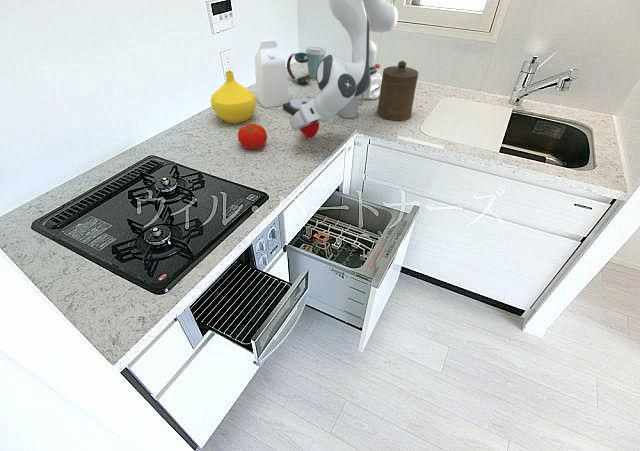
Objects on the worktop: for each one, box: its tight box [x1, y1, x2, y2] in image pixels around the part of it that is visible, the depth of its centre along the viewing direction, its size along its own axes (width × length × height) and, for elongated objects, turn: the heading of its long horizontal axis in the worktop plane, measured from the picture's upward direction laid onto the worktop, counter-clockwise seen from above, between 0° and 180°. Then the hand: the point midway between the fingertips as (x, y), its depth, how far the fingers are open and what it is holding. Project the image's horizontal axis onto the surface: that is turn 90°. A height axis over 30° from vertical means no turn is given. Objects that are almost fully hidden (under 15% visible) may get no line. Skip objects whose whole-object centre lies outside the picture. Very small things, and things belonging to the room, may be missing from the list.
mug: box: [338, 92, 365, 119], centre depth 148 cm, size 12×8×11 cm
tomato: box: [237, 122, 268, 150], centre depth 125 cm, size 11×11×8 cm
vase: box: [210, 70, 257, 124], centre depth 139 cm, size 18×18×19 cm
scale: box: [282, 96, 315, 116], centre depth 152 cm, size 15×13×3 cm
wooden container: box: [377, 60, 419, 121], centre depth 145 cm, size 15×15×22 cm
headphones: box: [286, 52, 316, 85], centre depth 173 cm, size 6×15×22 cm
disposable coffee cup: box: [305, 46, 327, 80], centre depth 181 cm, size 11×11×15 cm
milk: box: [254, 39, 290, 109], centre depth 151 cm, size 12×12×26 cm
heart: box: [299, 122, 320, 139], centre depth 130 cm, size 12×5×10 cm, turn 40°
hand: (306, 124), depth 130 cm, fingers closed on heart, 5 cm apart
